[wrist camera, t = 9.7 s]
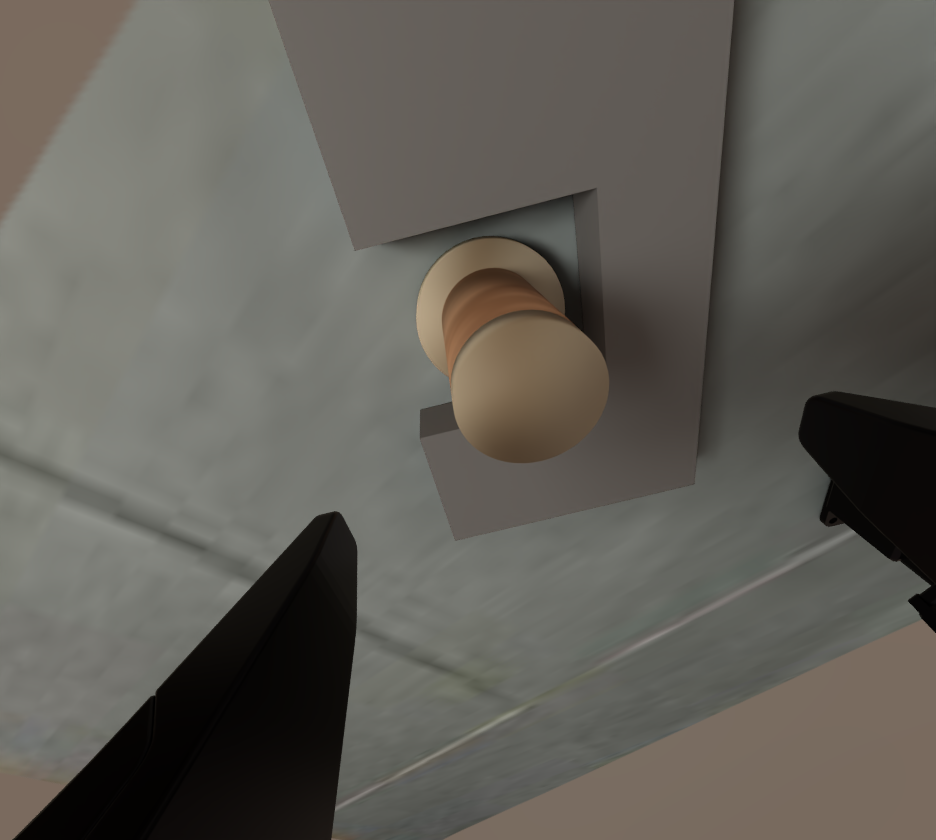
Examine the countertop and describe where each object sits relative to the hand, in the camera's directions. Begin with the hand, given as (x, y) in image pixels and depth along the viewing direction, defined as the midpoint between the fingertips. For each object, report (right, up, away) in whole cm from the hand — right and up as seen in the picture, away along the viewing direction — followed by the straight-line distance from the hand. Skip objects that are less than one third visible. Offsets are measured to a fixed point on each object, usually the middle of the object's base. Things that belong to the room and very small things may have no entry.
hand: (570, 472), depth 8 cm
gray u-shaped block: (+1, +6, +9) cm, 11 cm away
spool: (-1, +6, +9) cm, 11 cm away
